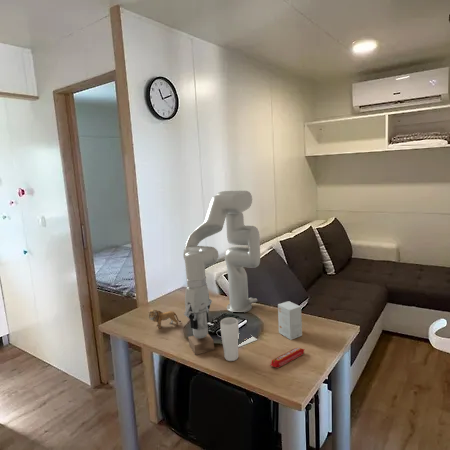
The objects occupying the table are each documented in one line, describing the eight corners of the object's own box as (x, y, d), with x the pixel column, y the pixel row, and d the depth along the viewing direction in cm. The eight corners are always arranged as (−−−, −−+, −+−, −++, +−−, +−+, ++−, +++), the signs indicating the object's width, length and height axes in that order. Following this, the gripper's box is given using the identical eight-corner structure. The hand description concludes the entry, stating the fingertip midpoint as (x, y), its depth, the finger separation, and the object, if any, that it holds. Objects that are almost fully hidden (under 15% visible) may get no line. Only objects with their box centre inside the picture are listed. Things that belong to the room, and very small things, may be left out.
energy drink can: (205, 330, 150) (202, 296, 148) (210, 336, 145) (207, 301, 142) (191, 333, 148) (188, 299, 146) (195, 340, 143) (192, 304, 140)
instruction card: (244, 332, 158) (244, 331, 158) (257, 339, 151) (257, 339, 151) (221, 340, 152) (221, 340, 152) (233, 349, 144) (233, 348, 144)
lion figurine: (150, 331, 165) (148, 312, 163) (148, 326, 170) (147, 308, 168) (182, 324, 170) (180, 306, 168) (179, 320, 174) (178, 302, 173)
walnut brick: (207, 341, 152) (206, 332, 152) (214, 349, 145) (213, 340, 144) (189, 345, 149) (188, 336, 149) (195, 354, 142) (194, 345, 141)
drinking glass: (218, 358, 138) (216, 321, 136) (231, 351, 143) (229, 315, 140) (231, 365, 134) (229, 326, 131) (244, 357, 138) (241, 320, 136)
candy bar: (298, 351, 141) (298, 344, 140) (305, 354, 138) (305, 347, 137) (268, 367, 131) (268, 359, 130) (276, 371, 128) (275, 363, 128)
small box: (302, 335, 152) (301, 306, 149) (290, 340, 149) (289, 310, 146) (289, 328, 159) (289, 300, 156) (278, 332, 156) (277, 304, 153)
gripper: (203, 274, 151) (206, 315, 155) (173, 287, 138) (178, 331, 141) (217, 277, 147) (220, 318, 150) (188, 290, 134) (192, 336, 137)
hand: (199, 324), depth 146 cm, fingers closed on energy drink can, 5 cm apart
